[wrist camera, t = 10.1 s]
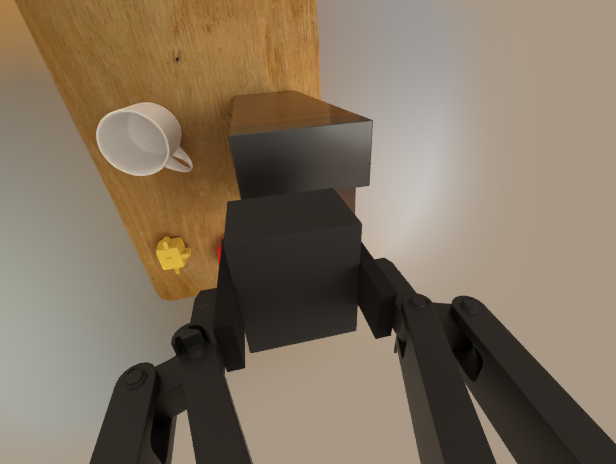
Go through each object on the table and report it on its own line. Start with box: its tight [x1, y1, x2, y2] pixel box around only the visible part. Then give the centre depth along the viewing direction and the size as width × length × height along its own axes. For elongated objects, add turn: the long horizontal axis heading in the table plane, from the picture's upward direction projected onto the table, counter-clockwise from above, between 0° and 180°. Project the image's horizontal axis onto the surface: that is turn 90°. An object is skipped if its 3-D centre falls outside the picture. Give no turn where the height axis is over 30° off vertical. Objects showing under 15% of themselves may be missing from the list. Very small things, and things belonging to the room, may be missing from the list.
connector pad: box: [223, 188, 362, 353], centre depth 15 cm, size 7×6×4 cm
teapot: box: [156, 236, 191, 274], centre depth 55 cm, size 8×6×5 cm
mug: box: [96, 102, 193, 176], centre depth 42 cm, size 9×12×11 cm
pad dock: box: [228, 91, 373, 306], centre depth 37 cm, size 18×10×33 cm, turn 4°
